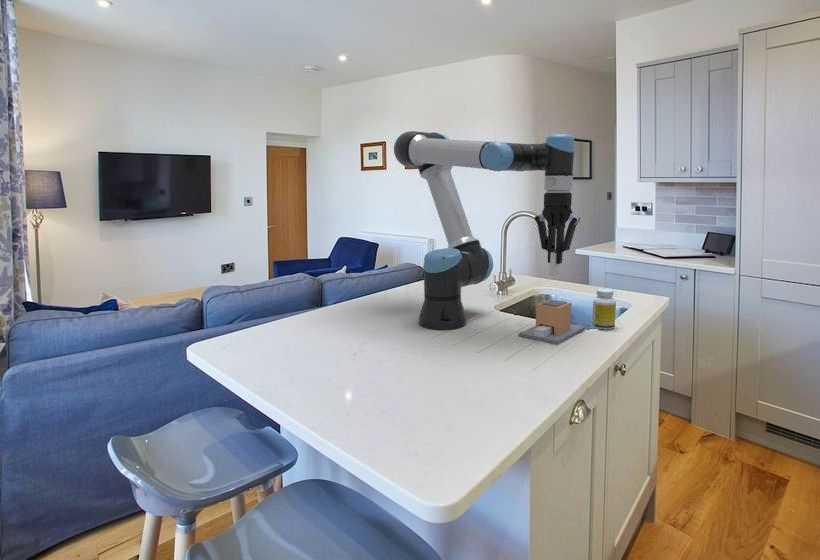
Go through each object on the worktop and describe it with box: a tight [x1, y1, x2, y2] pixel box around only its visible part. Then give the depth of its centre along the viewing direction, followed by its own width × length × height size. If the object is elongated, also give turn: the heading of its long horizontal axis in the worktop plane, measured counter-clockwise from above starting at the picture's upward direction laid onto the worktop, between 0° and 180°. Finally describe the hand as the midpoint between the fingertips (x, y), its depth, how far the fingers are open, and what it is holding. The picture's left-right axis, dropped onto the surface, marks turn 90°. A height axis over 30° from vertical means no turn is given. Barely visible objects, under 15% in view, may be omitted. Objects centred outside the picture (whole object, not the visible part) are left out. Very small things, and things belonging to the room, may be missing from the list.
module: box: [535, 299, 572, 335], centre depth 147 cm, size 7×8×8 cm
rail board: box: [518, 323, 586, 346], centre depth 148 cm, size 12×18×3 cm, turn 138°
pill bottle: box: [591, 288, 617, 331], centre depth 152 cm, size 6×6×12 cm
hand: (554, 274), depth 145 cm, fingers closed
